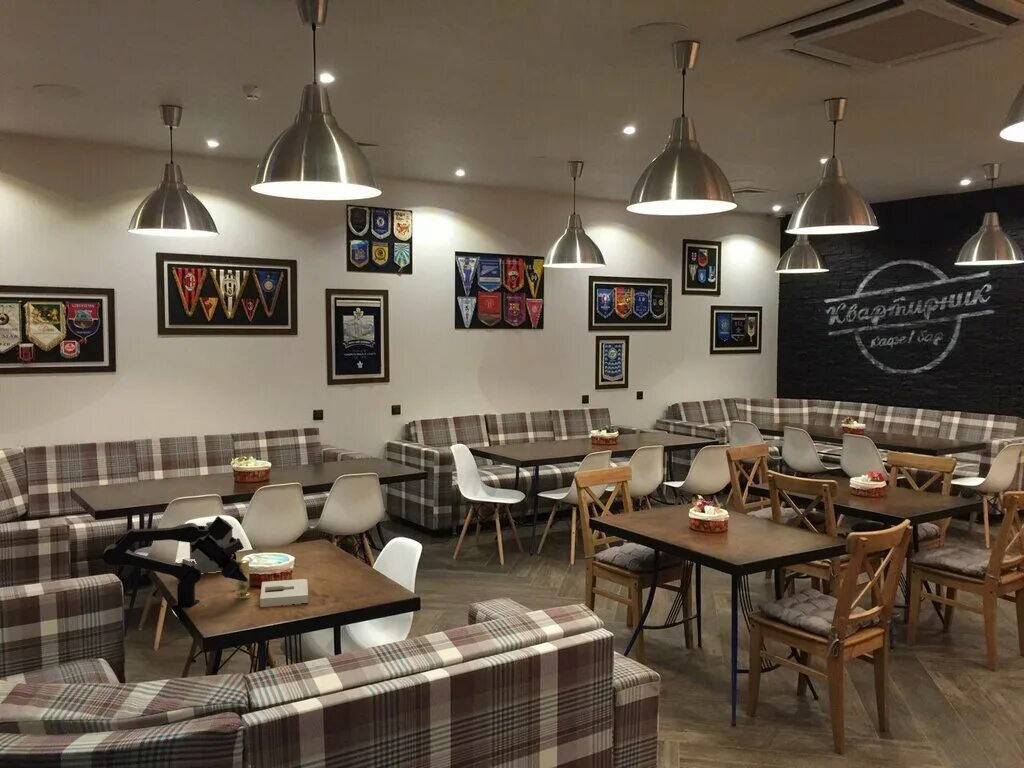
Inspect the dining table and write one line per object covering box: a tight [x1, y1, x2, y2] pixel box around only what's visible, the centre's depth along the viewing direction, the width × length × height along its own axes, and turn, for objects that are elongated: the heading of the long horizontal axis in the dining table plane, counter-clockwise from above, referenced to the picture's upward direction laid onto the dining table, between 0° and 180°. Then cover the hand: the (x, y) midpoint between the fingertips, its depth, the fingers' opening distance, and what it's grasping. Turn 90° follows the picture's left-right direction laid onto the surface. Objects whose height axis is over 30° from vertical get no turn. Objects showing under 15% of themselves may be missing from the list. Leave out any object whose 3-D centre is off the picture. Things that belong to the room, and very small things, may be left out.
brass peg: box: [236, 559, 252, 601], centre depth 296 cm, size 5×5×13 cm
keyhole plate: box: [259, 578, 309, 608], centre depth 298 cm, size 16×20×3 cm
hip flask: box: [189, 521, 233, 573], centre depth 328 cm, size 16×4×20 cm, turn 114°
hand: (245, 577), depth 297 cm, fingers open, 9 cm apart
